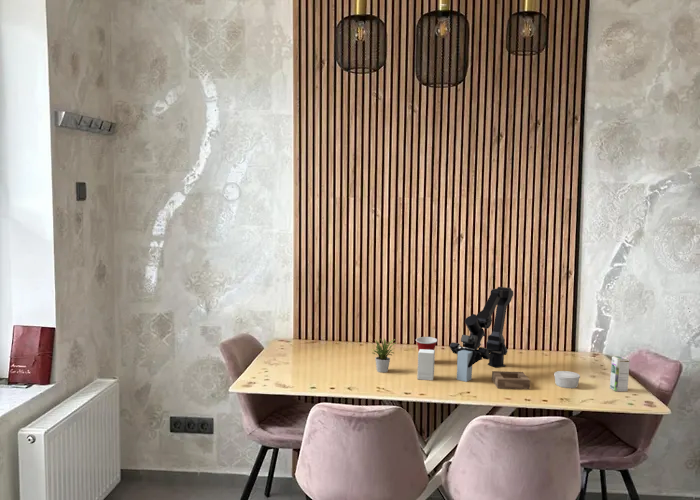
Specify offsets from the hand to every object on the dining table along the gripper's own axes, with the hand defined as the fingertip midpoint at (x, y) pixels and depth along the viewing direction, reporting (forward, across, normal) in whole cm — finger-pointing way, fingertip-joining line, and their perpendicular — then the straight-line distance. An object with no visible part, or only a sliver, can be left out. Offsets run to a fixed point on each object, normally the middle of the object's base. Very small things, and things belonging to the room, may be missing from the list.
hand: (463, 365), depth 307 cm
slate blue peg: (+4, 0, +6) cm, 7 cm away
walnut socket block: (-1, +20, +11) cm, 22 cm away
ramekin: (-12, +39, +22) cm, 47 cm away
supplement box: (+10, -15, -1) cm, 18 cm away
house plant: (+13, -35, -3) cm, 38 cm away
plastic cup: (-7, -30, +16) cm, 34 cm away
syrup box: (-19, +60, +28) cm, 68 cm away
